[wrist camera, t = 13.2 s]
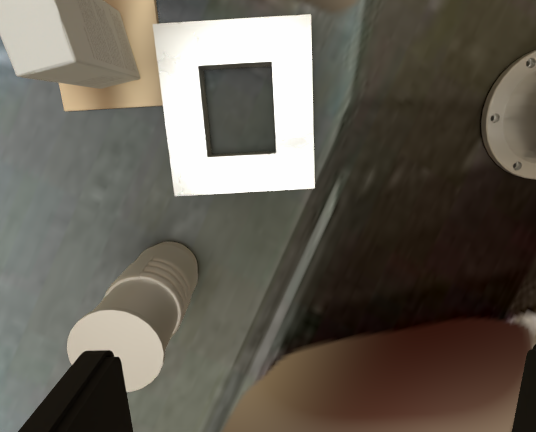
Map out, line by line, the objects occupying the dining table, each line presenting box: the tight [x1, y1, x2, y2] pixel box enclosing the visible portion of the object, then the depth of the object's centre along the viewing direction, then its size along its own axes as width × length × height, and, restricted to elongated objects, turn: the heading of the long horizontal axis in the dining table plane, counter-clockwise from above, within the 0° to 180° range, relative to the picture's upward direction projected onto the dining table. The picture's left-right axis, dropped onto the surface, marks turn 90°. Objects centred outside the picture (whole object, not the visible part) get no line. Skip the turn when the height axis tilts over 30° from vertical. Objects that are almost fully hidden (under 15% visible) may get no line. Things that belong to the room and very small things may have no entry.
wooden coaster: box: [59, 0, 163, 111], centre depth 33 cm, size 10×10×1 cm
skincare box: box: [0, 0, 140, 89], centre depth 27 cm, size 6×4×12 cm
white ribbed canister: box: [67, 241, 198, 392], centre depth 32 cm, size 7×7×15 cm
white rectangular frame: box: [153, 14, 315, 196], centre depth 33 cm, size 14×15×3 cm
